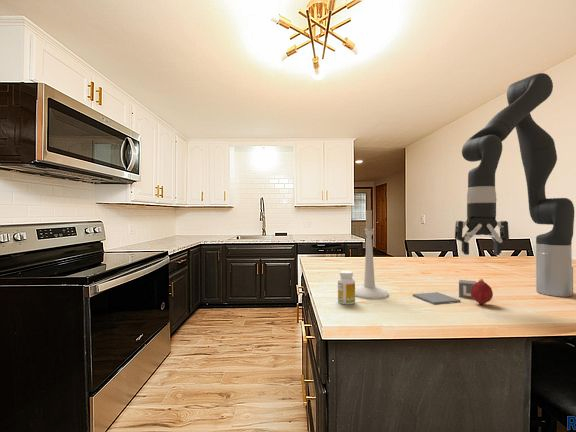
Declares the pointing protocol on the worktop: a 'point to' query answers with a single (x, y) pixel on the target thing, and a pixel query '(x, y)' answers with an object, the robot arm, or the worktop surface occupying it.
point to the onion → (481, 292)
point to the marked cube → (465, 288)
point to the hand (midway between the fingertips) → (481, 254)
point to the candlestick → (369, 268)
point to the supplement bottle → (346, 288)
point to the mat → (436, 298)
